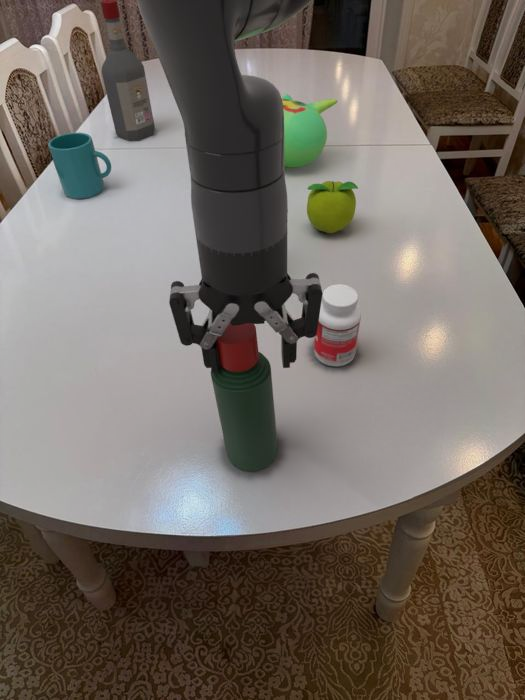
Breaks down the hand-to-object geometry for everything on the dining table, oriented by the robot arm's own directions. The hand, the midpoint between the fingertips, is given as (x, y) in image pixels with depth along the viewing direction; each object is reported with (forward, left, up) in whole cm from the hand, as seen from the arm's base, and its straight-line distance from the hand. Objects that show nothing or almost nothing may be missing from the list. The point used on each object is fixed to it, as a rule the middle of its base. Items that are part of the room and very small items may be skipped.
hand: (250, 364), depth 52 cm
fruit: (+20, -49, -15) cm, 55 cm away
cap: (+1, +1, +1) cm, 1 cm away
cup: (+73, -32, -15) cm, 81 cm away
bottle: (0, +1, -15) cm, 15 cm away
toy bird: (+44, -69, -15) cm, 83 cm away
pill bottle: (+1, -20, -15) cm, 25 cm away
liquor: (+89, -60, -15) cm, 108 cm away
